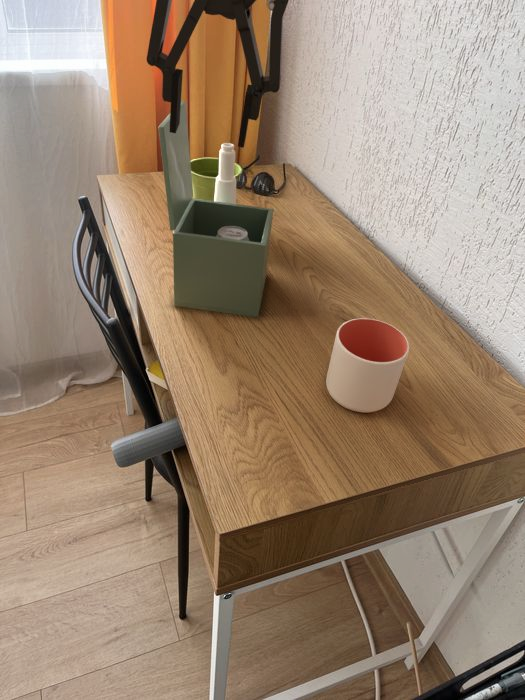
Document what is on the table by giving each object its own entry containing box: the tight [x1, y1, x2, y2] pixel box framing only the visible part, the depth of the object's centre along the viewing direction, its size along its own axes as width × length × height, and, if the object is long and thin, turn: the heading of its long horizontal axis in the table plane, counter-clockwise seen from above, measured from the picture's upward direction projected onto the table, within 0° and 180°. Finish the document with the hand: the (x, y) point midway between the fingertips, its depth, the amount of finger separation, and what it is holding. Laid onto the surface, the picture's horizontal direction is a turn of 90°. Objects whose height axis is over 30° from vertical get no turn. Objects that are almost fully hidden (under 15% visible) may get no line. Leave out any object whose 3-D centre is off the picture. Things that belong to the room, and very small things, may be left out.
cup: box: [325, 317, 410, 413], centre depth 75 cm, size 10×10×10 cm
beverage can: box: [216, 226, 249, 241], centre depth 90 cm, size 6×6×12 cm
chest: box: [172, 197, 274, 318], centre depth 91 cm, size 15×14×14 cm
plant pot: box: [190, 157, 243, 201], centre depth 114 cm, size 12×12×11 cm
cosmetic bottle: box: [214, 142, 237, 204], centre depth 98 cm, size 6×6×22 cm
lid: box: [157, 100, 194, 232], centre depth 82 cm, size 15×14×1 cm
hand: (208, 134), depth 66 cm, fingers open, 8 cm apart
